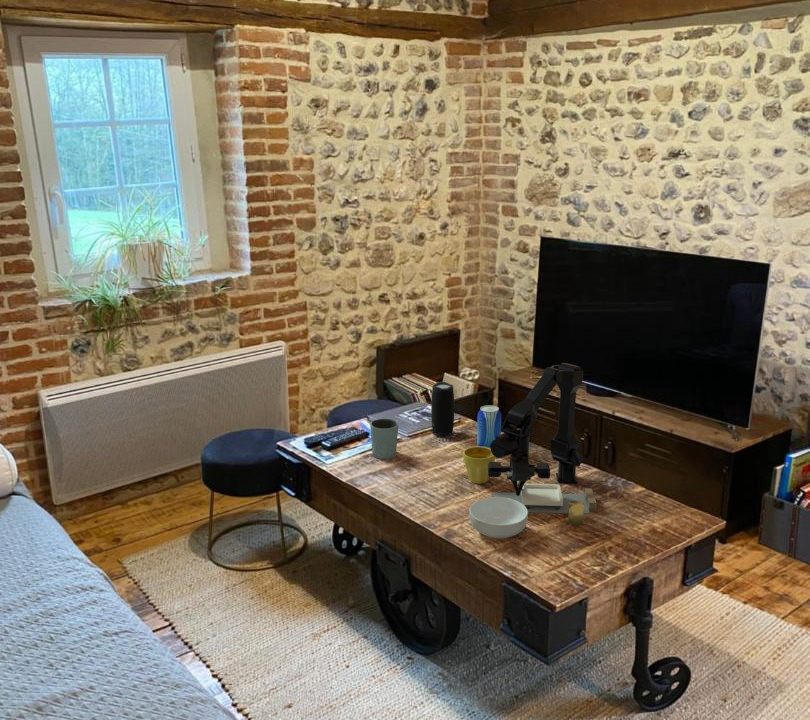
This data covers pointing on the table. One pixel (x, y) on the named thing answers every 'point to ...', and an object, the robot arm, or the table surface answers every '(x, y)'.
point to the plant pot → (478, 463)
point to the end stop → (590, 500)
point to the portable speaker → (442, 409)
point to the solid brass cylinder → (575, 513)
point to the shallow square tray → (542, 495)
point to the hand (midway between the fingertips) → (517, 495)
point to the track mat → (545, 508)
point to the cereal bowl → (498, 517)
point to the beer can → (488, 425)
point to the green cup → (384, 438)
